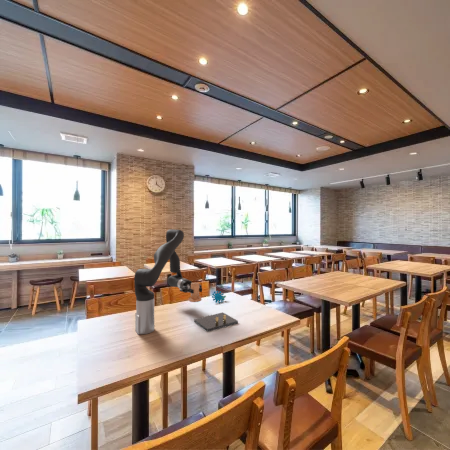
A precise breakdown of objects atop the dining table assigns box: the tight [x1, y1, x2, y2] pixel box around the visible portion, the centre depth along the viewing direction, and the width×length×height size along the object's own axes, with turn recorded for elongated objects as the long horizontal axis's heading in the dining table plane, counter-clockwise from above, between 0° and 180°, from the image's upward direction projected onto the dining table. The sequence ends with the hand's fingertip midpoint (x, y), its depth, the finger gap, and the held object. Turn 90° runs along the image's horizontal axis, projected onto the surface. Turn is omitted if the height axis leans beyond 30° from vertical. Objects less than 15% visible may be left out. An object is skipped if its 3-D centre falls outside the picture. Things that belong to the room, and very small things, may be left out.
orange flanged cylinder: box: [188, 282, 202, 303], centre depth 145 cm, size 8×8×10 cm
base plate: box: [193, 312, 239, 333], centre depth 141 cm, size 20×16×6 cm
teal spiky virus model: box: [211, 290, 227, 304], centre depth 179 cm, size 11×6×10 cm
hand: (197, 290), depth 143 cm, fingers closed on orange flanged cylinder, 5 cm apart
